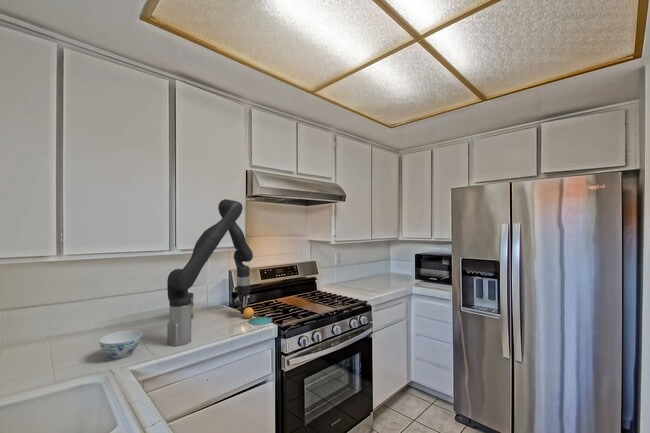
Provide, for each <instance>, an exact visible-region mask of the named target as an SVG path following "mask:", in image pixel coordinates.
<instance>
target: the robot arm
mask: <svg viewBox="0 0 650 433" xmlns="http://www.w3.org/2000/svg"><path fill="white" fill-rule="evenodd" d="M243 208H244V206H243V204H242V203H241V202H240V201H237V200H232V199H228V198H227V199H222V200H221V201H219V204H218V213H219V215H220V218H221V219H220V220H219V221H217V223H215V224H213V225H211V226H210V227H208V228H207V229H205V230H204V231H203V232H202V233H201V235H200V237H199V238H198V239H197V241H196V242H195V244H194V247H193V251H192V253H191V254H192V255H191V256H190V258H189V261H187V263H186V265H185V266H184V267H183V268H176V269H173V270H171V271H170V272H169V274H168V277H167V281H166V283H167V288H166V289H167V298H168V302H169V313H168V314H169V318H168V319H169V322H167V326H166V327H167V329H166V330H167V331H166V333H167V337H166V342H167V345H171V346H173V347H178V346H183V345H187V344H189V343H190V342H192V320H191V297H190V295H189V293H190V292H189V289H190V288H192V286H193V285H194V283H195V282H196V280H197V278H198V277H199V275H200V274H201V273H200V272H201V270H202V269H203V268H204V266H205V264H206V263H207V262H208V260H209V258H210V257H211V256H212V254H213V253H214V252H215V250H216V249H217V247H218V246H219V244H220V243H221V241H222V239H223V238H224V237H225V236H226V234H227V233H229V235H230V239H231V241H232V244H233V247H234V249H235V251H234V253H233V259H234V263H235V267H236V293H237V295H236V299H234V300H233V303H235V305H236V307H237V308H240V314H241V315H243V312H244V310H245V309H246V308H247V306H249V304H250V303H251V300H252V298H253V295H250V292H251V278H250V270H251V269H250V266H249V265H246V264H244V263H243V262H245V263H246V262H249V263H250V262H251V261H252V260H253V257H254V255H253V251H252V249H251V247H250V246H249V244H248V243H247V240H246V237H245V233H244V231H243V230H242V229H241V227H240V225H238V223H237V222H236V221H237V220H238V219H239V218H240V216H241V215H242V213H243V210H244V209H243Z"/></svg>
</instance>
